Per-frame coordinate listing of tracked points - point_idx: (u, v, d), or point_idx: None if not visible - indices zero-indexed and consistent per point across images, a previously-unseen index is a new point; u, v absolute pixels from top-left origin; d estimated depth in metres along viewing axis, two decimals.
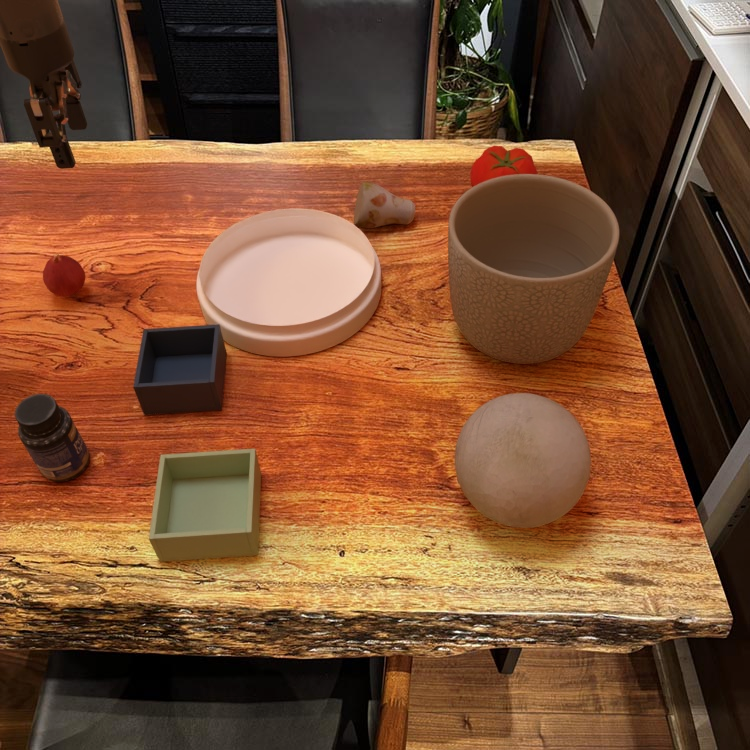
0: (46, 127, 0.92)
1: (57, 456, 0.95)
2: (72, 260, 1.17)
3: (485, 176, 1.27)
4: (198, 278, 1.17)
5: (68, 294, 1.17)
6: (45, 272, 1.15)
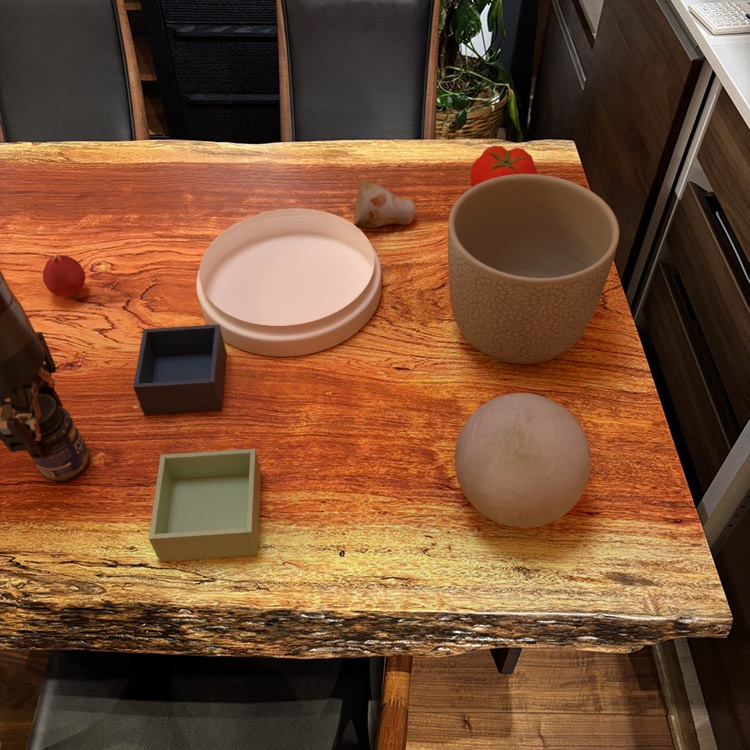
0: (17, 441, 0.86)
1: (57, 456, 0.95)
2: (72, 260, 1.17)
3: (485, 176, 1.27)
4: (198, 278, 1.17)
5: (68, 294, 1.17)
6: (45, 272, 1.15)
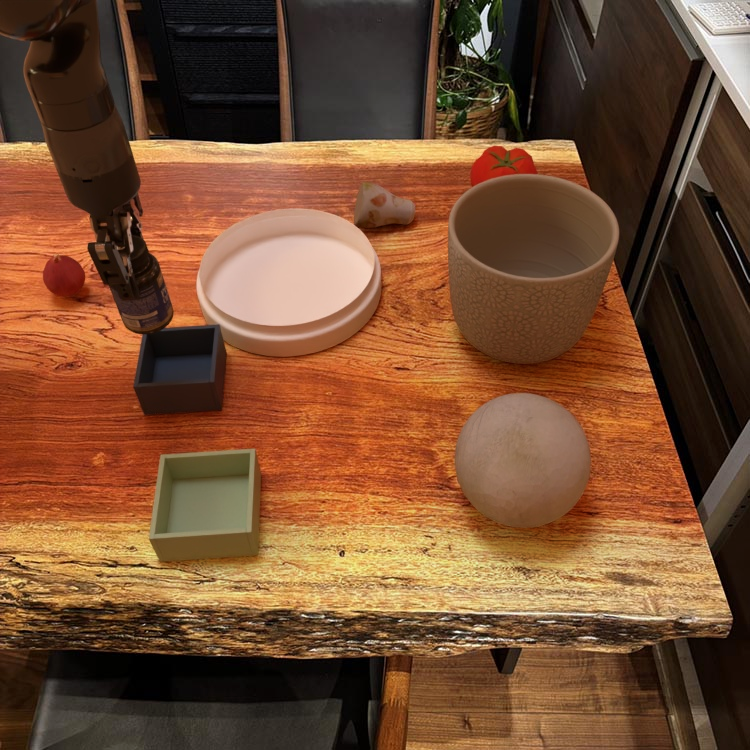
0: (112, 269, 0.82)
1: (145, 301, 0.91)
2: (72, 260, 1.17)
3: (485, 176, 1.27)
4: (198, 278, 1.17)
5: (68, 294, 1.17)
6: (45, 272, 1.15)
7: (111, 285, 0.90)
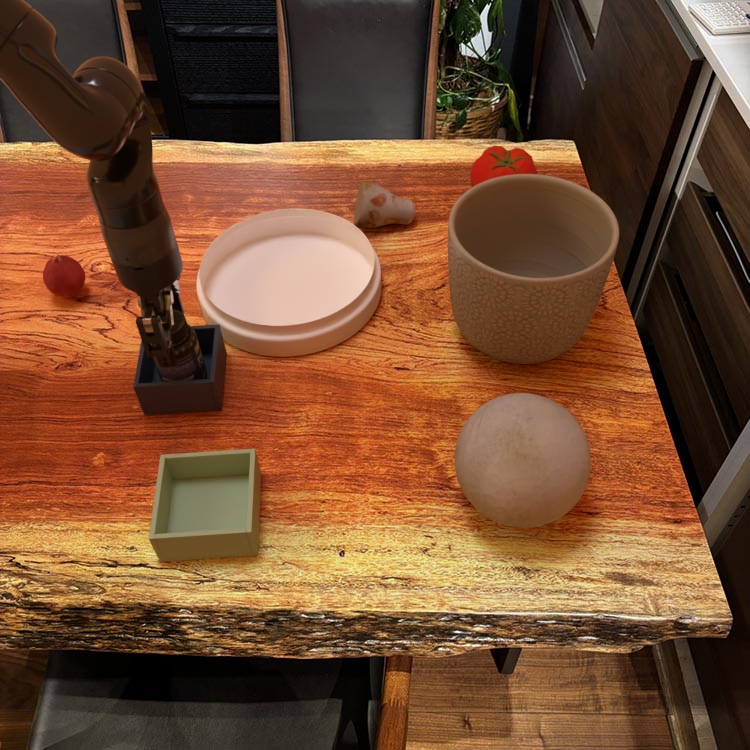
0: (156, 341, 0.92)
1: (184, 368, 1.02)
2: (72, 260, 1.17)
3: (485, 176, 1.27)
4: (198, 278, 1.17)
5: (68, 294, 1.17)
6: (45, 272, 1.15)
7: None
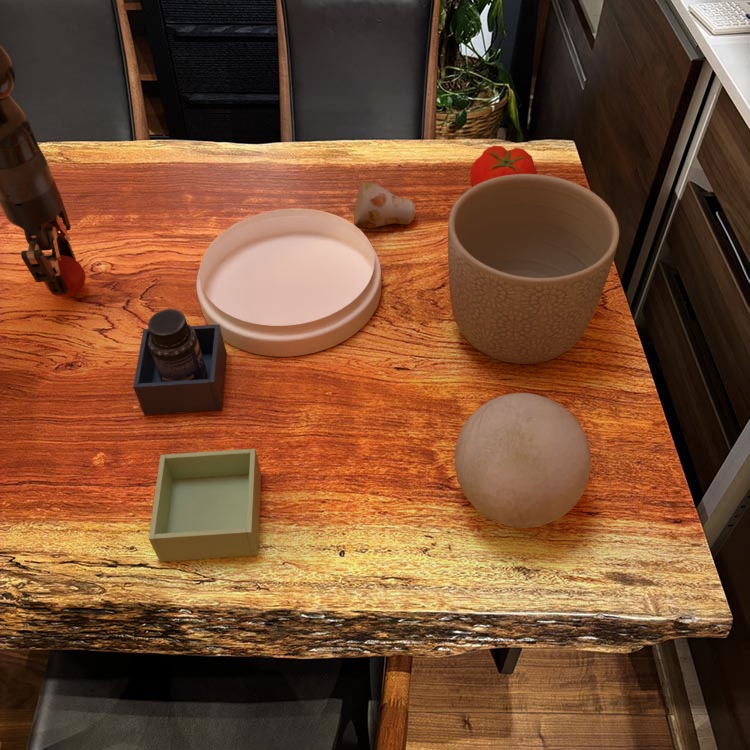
0: (41, 270, 1.08)
1: (184, 367, 1.02)
2: (72, 260, 1.17)
3: (485, 176, 1.27)
4: (198, 278, 1.17)
5: (68, 294, 1.17)
6: None
7: (154, 354, 1.01)
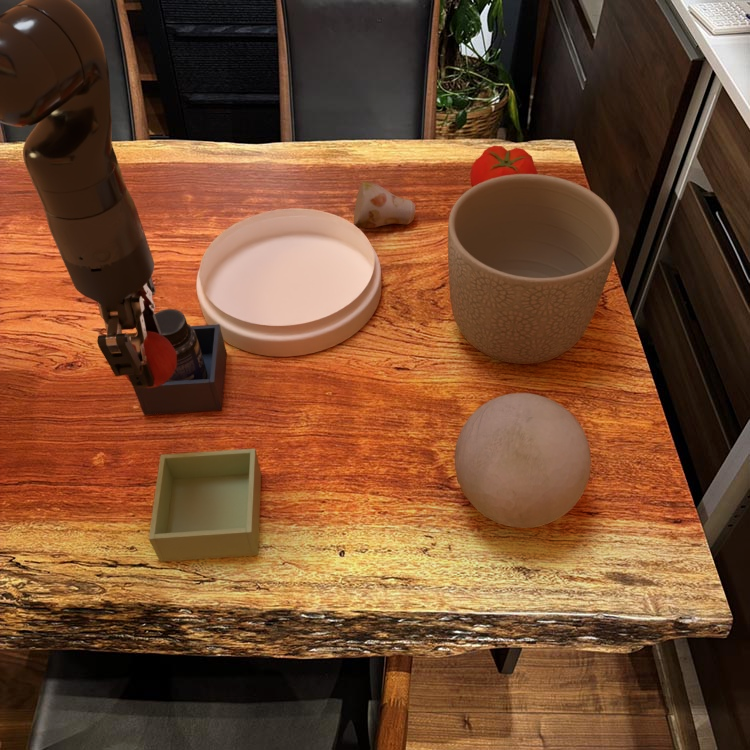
0: (125, 361, 0.75)
1: (184, 367, 1.02)
2: (160, 337, 0.83)
3: (485, 176, 1.27)
4: (198, 278, 1.17)
5: (155, 385, 0.83)
6: None
7: None
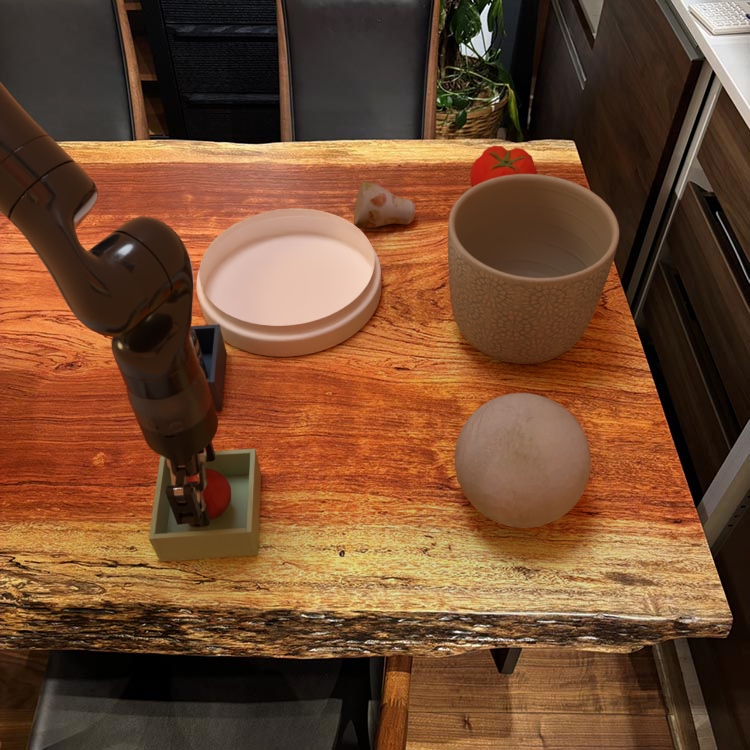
0: (188, 510, 0.81)
1: None
2: (218, 476, 0.90)
3: (485, 176, 1.27)
4: (198, 278, 1.17)
5: (212, 519, 0.91)
6: None
7: None
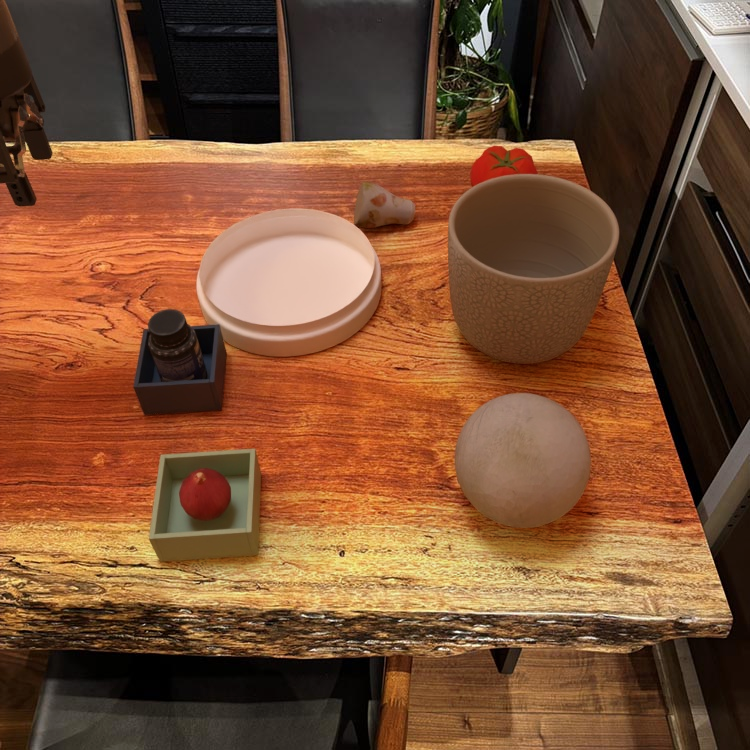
0: None
1: (184, 367, 1.02)
2: (217, 476, 0.90)
3: (485, 176, 1.27)
4: (198, 278, 1.17)
5: (212, 519, 0.91)
6: (185, 495, 0.89)
7: (154, 354, 1.01)
